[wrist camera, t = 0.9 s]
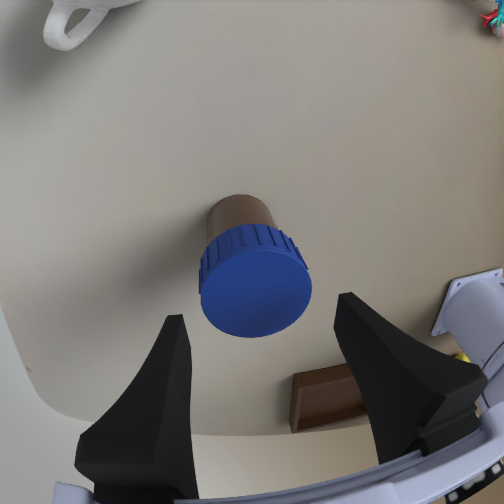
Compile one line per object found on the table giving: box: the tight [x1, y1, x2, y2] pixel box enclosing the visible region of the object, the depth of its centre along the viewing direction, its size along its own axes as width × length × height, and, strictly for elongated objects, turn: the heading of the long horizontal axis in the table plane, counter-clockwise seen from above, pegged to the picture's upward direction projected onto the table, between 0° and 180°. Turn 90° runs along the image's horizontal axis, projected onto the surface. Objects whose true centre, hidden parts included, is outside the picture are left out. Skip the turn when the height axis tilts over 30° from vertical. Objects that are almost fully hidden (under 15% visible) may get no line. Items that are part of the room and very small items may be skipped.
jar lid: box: [199, 223, 312, 338], centre depth 15 cm, size 5×5×3 cm
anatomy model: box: [480, 0, 504, 38], centre depth 11 cm, size 5×8×7 cm
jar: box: [207, 195, 278, 246], centre depth 18 cm, size 4×4×7 cm
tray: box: [289, 364, 368, 433], centre depth 33 cm, size 11×11×2 cm
